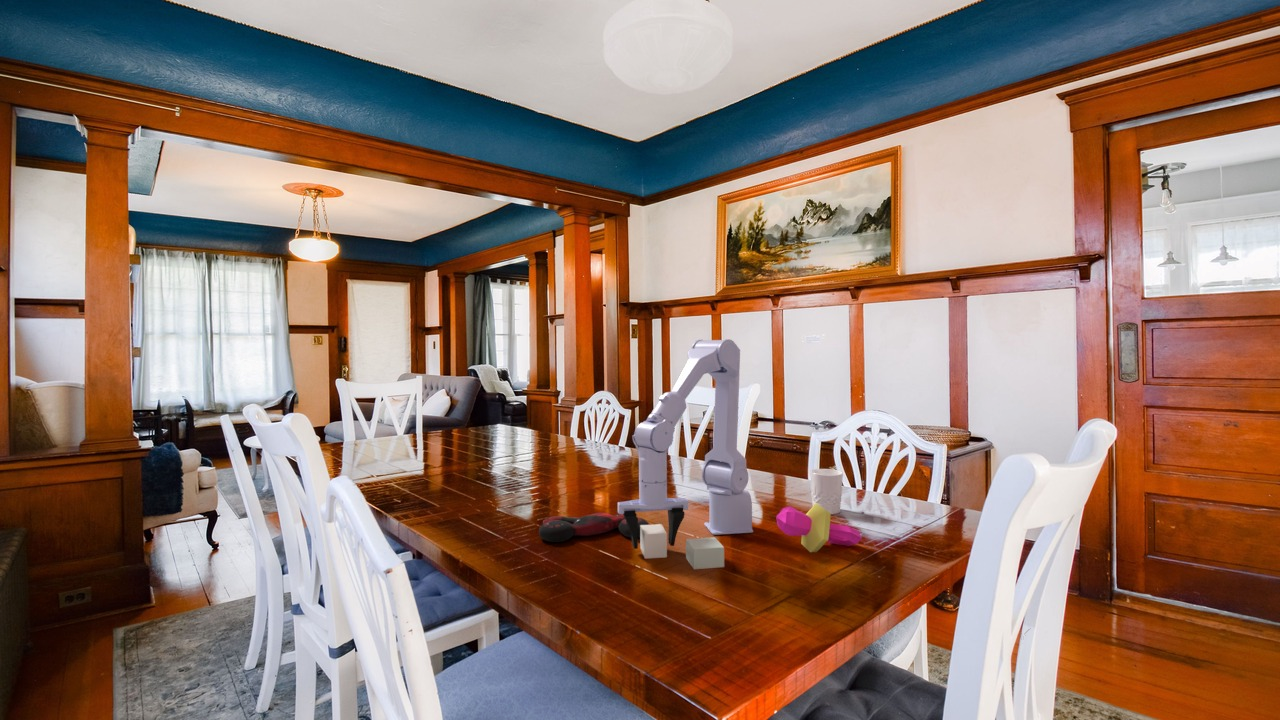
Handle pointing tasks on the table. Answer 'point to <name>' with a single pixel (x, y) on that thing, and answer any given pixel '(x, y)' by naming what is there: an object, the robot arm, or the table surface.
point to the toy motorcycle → (584, 526)
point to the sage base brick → (704, 553)
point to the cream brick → (653, 541)
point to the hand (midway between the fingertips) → (653, 545)
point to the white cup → (827, 489)
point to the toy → (815, 528)
